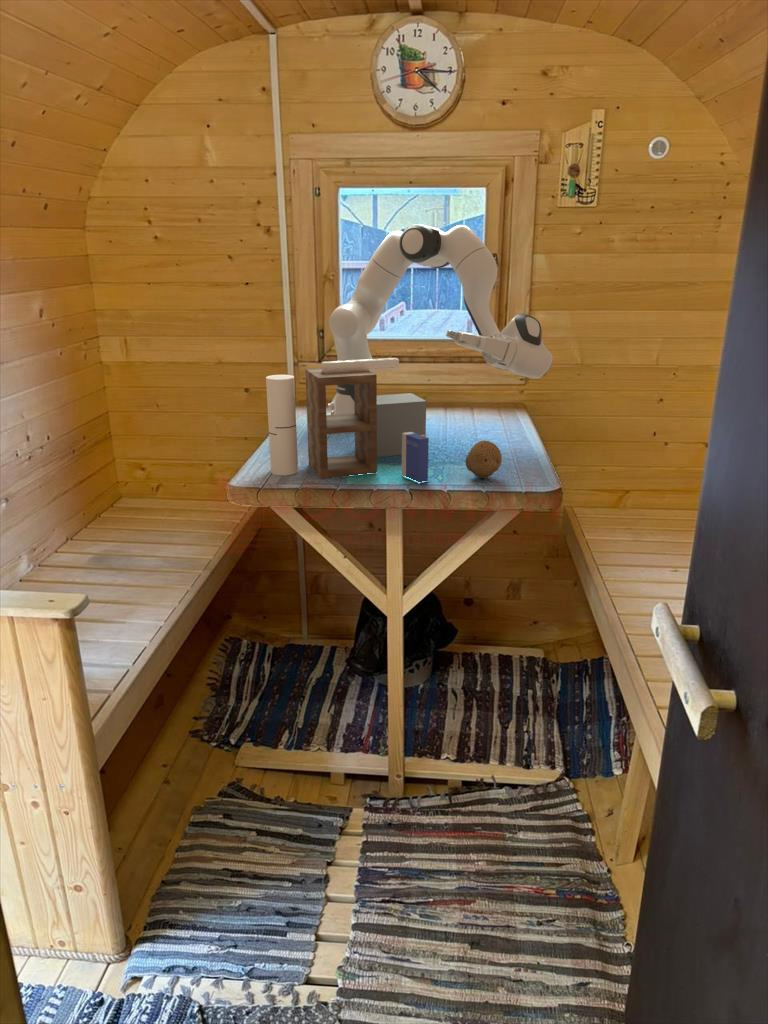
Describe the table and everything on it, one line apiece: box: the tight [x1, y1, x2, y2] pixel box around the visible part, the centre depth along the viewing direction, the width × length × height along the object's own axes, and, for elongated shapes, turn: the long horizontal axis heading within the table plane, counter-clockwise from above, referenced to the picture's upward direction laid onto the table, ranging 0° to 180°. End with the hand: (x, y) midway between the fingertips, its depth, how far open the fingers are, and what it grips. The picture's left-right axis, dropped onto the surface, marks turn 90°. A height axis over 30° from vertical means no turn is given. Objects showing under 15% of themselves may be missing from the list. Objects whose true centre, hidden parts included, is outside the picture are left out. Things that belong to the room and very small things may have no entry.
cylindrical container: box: [265, 374, 299, 476], centre depth 197 cm, size 7×7×25 cm
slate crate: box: [377, 392, 427, 458], centre depth 219 cm, size 12×16×15 cm
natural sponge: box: [464, 440, 503, 480], centre depth 193 cm, size 9×9×10 cm
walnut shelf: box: [304, 367, 378, 480], centre depth 199 cm, size 14×15×26 cm
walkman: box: [401, 432, 430, 482], centre depth 193 cm, size 8×3×12 cm, turn 33°
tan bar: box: [321, 357, 400, 374], centre depth 196 cm, size 3×20×3 cm, turn 109°
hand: (454, 334), depth 202 cm, fingers open, 8 cm apart
